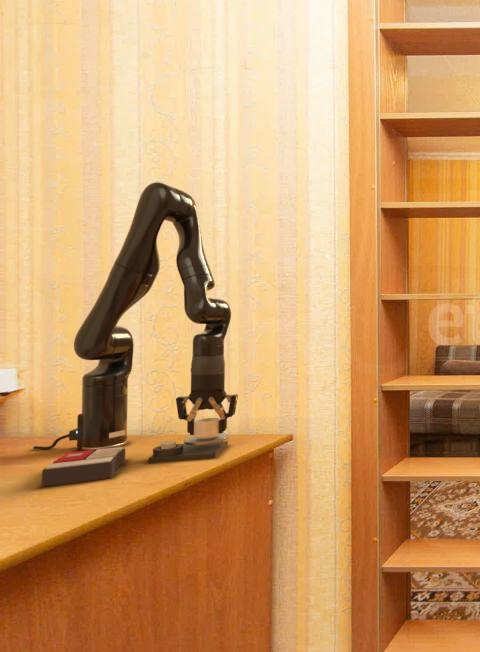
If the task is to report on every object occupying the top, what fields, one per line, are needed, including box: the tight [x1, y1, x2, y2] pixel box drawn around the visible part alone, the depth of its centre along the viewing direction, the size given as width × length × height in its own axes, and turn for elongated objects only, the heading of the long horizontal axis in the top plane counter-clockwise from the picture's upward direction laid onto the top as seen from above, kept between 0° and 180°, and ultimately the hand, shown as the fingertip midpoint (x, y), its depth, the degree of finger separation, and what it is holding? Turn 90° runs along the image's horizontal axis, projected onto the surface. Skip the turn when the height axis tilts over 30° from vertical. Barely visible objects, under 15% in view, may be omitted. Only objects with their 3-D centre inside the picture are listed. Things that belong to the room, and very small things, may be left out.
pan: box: [183, 432, 230, 445], centre depth 118 cm, size 10×10×1 cm
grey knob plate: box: [148, 440, 229, 464], centre depth 115 cm, size 14×12×3 cm
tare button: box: [160, 440, 177, 449], centre depth 111 cm, size 3×3×2 cm
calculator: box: [41, 446, 126, 488], centre depth 100 cm, size 11×4×15 cm
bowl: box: [193, 417, 221, 439], centre depth 118 cm, size 6×6×4 cm
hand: (207, 433), depth 118 cm, fingers closed on bowl, 6 cm apart
